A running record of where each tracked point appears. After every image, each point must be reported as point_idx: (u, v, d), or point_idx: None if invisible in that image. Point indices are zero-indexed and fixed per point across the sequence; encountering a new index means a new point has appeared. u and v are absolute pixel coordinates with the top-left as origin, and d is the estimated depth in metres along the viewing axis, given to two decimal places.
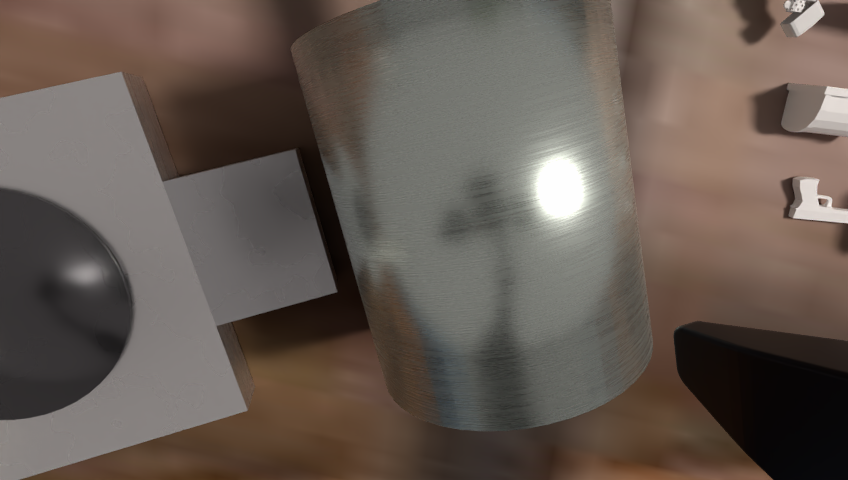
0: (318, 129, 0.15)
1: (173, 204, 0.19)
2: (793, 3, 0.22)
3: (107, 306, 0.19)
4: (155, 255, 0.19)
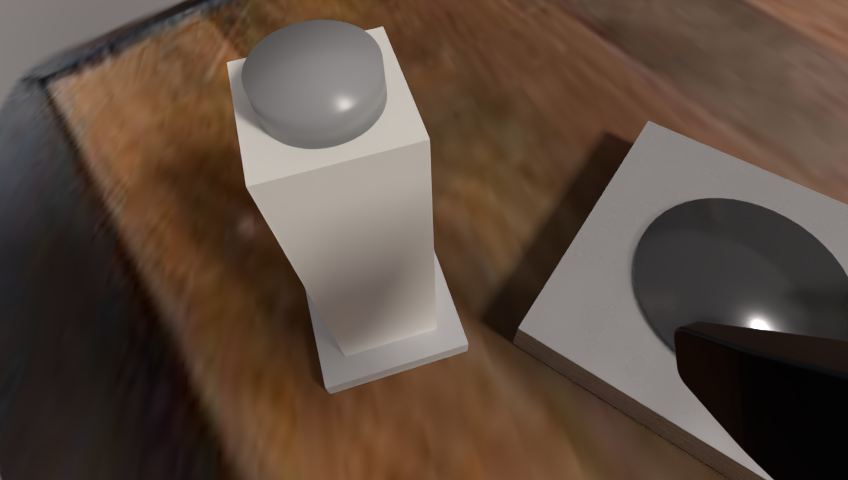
0: None
1: None
2: None
3: None
4: None
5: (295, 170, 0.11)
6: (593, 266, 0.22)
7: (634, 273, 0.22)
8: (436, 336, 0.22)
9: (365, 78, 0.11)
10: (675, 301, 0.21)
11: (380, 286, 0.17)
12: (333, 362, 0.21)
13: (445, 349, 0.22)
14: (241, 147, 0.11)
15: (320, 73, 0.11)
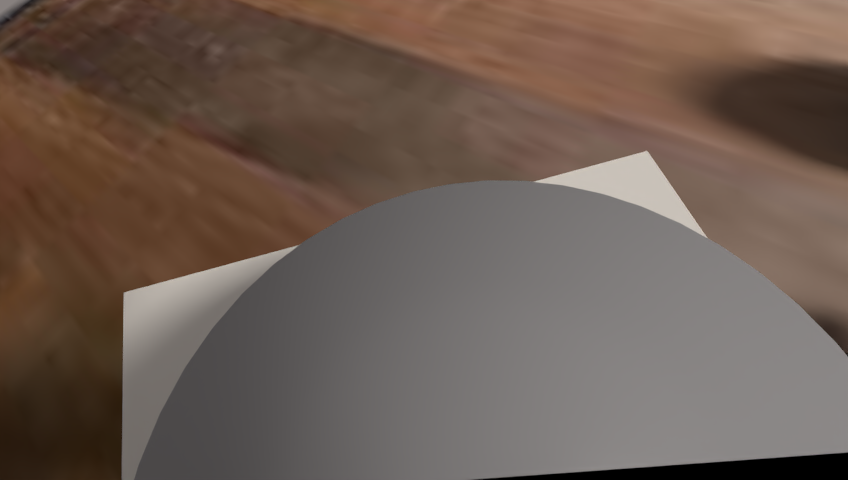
0: None
1: None
2: None
3: None
4: None
5: None
6: None
7: None
8: None
9: None
10: None
11: None
12: None
13: None
14: None
15: None
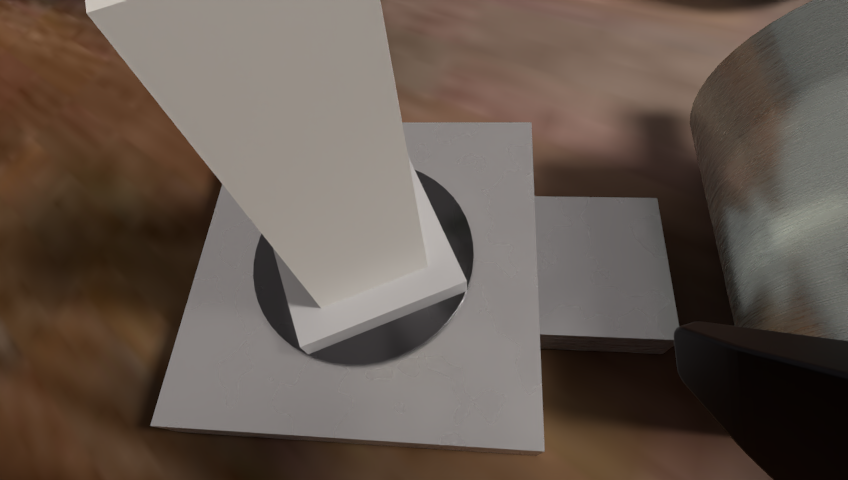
0: (736, 116, 0.17)
1: (537, 214, 0.21)
2: None
3: None
4: (506, 250, 0.20)
5: None
6: (217, 310, 0.20)
7: (257, 296, 0.20)
8: (427, 275, 0.18)
9: None
10: None
11: (345, 205, 0.13)
12: (307, 316, 0.18)
13: (439, 290, 0.18)
14: None
15: None
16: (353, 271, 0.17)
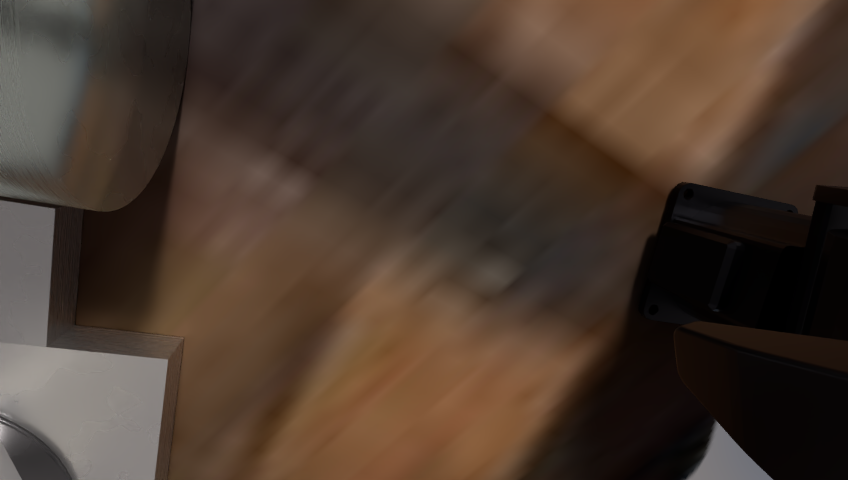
0: None
1: None
2: None
3: None
4: None
5: None
6: None
7: None
8: None
9: None
10: None
11: None
12: None
13: None
14: None
15: None
16: None
